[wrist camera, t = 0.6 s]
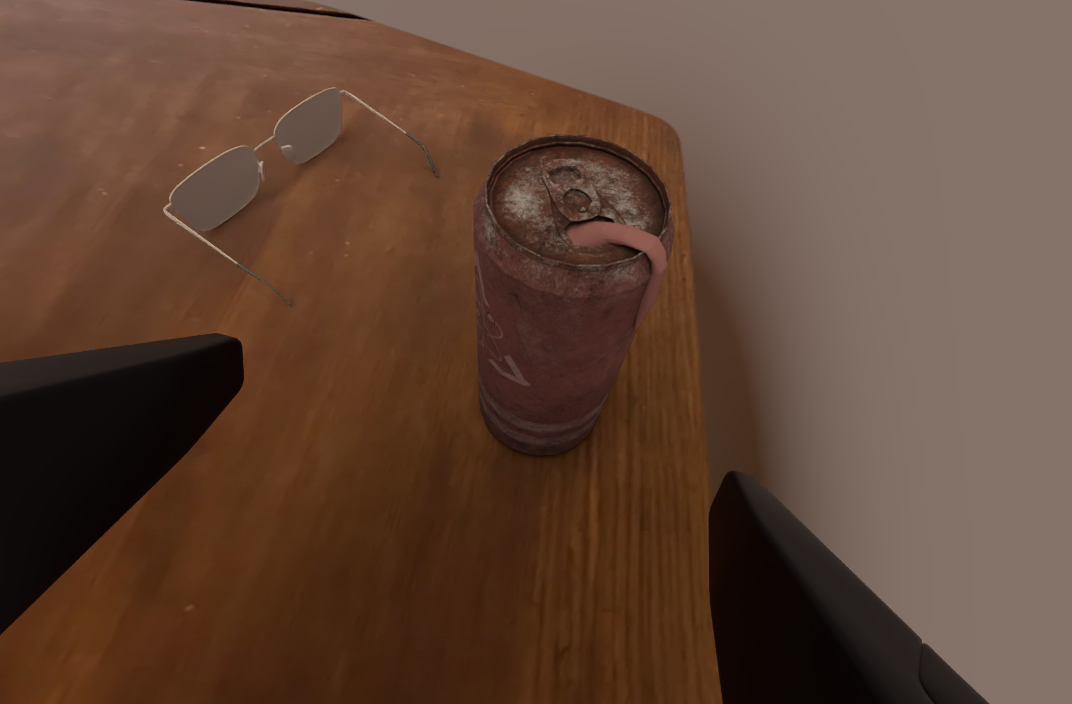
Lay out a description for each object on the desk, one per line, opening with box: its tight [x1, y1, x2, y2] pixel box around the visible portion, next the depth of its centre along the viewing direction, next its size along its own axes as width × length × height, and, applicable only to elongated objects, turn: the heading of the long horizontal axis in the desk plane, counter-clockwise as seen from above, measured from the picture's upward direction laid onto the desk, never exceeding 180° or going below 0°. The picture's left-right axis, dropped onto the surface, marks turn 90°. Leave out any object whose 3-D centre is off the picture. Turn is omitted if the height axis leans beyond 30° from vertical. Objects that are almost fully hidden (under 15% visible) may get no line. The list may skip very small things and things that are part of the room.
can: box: [474, 134, 675, 456], centre depth 21 cm, size 6×6×14 cm
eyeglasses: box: [163, 88, 440, 306], centre depth 31 cm, size 14×8×4 cm, turn 148°
